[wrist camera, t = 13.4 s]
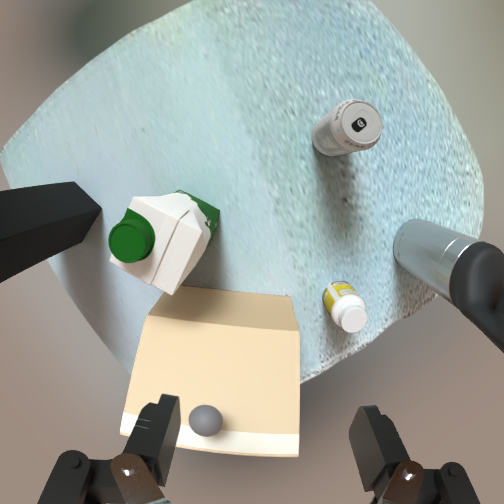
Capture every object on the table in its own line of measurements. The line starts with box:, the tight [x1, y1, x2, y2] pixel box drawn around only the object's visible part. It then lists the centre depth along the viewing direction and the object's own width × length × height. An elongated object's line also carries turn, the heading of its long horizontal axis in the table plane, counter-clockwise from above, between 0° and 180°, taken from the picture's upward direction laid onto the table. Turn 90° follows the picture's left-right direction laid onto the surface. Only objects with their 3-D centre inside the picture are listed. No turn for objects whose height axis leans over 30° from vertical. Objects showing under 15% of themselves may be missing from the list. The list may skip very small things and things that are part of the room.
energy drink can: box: [311, 99, 383, 156], centre depth 35 cm, size 6×6×15 cm
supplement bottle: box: [322, 280, 367, 333], centre depth 44 cm, size 5×5×10 cm
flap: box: [120, 315, 300, 457], centre depth 29 cm, size 20×16×7 cm
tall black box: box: [0, 182, 102, 283], centre depth 32 cm, size 8×8×28 cm
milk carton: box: [109, 190, 220, 295], centre depth 36 cm, size 9×9×20 cm
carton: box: [148, 285, 299, 331], centre depth 45 cm, size 20×16×12 cm
